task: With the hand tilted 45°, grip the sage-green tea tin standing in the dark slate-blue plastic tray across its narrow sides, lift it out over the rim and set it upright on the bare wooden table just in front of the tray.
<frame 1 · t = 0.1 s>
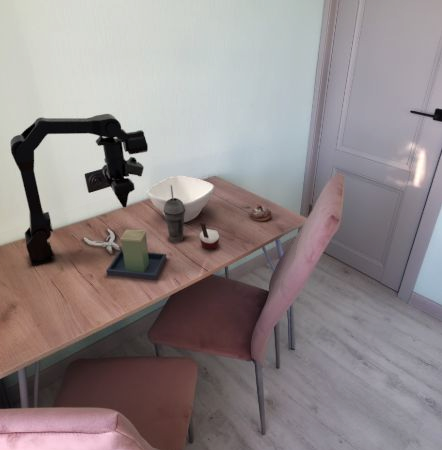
hand: (121, 201, 134), 15 cm above the table, tool pointing down, fingers open, 9 cm apart
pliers: (106, 243, 139), on the table
cocoa: (208, 248, 137), on the table
bowl: (182, 216, 156), on the table
tea tin: (137, 267, 127), resting on tray
tray: (137, 268, 127), on the table
beverage cup: (176, 239, 141), on the table
pastry: (261, 217, 155), on the table
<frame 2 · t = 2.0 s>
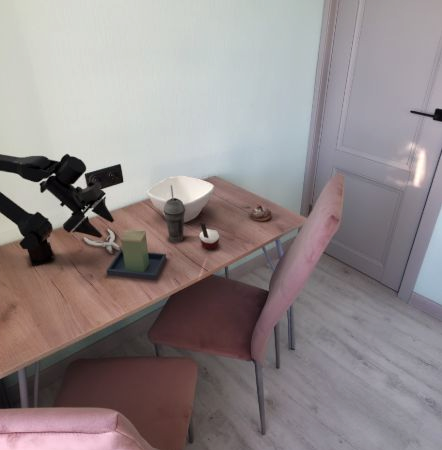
hand: (107, 229, 121), 13 cm above the table, tool tilted 45°, fingers open, 9 cm apart
nothing on the table moved.
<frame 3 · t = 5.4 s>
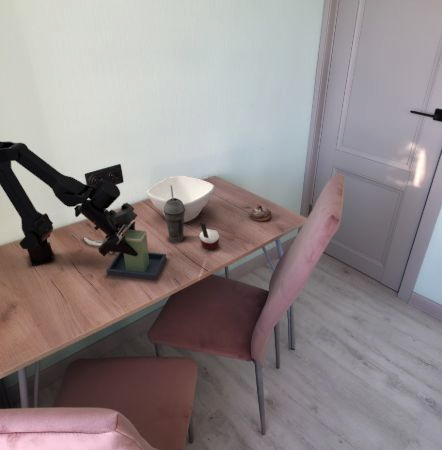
hand: (140, 250, 123), 7 cm above the table, tool tilted 45°, fingers closed on tea tin, 5 cm apart
tea tin: (138, 266, 127), resting on tray, touching gripper
everything else where it was.
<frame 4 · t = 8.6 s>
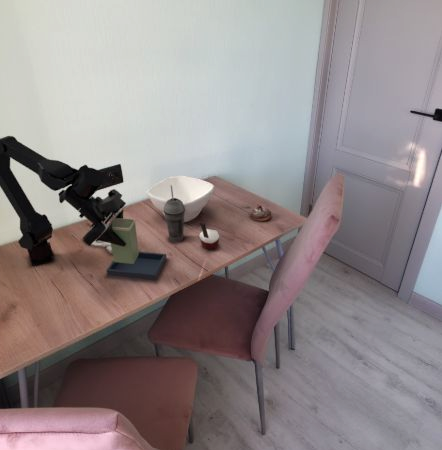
hand: (128, 240, 115), 13 cm above the table, tool tilted 45°, fingers closed on tea tin, 5 cm apart
tea tin: (126, 258, 119), point 7 cm above the table, touching gripper
everything else where it was.
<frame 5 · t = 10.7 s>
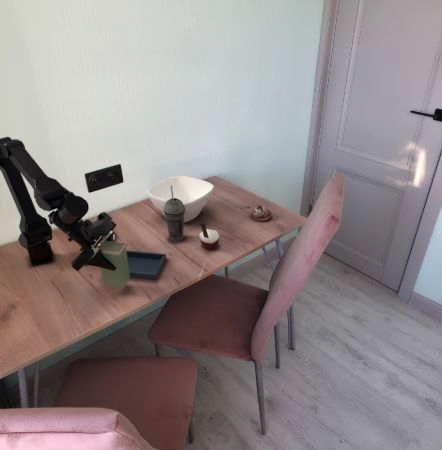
hand: (118, 264, 112), 10 cm above the table, tool tilted 45°, fingers closed on tea tin, 5 cm apart
tea tin: (117, 281, 116), point 3 cm above the table, touching gripper
everything else where it was.
when the fingers open (6 cm above the table, at t = 12.1 s): tea tin stays where it is, on the table.
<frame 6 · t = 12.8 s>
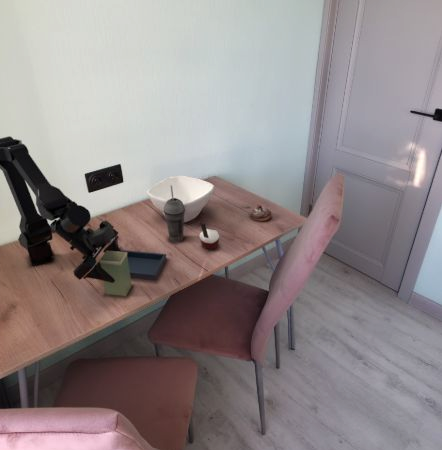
hand: (120, 271, 113), 7 cm above the table, tool tilted 45°, fingers open, 9 cm apart
tea tin: (119, 290, 117), on the table
everything else where it was.
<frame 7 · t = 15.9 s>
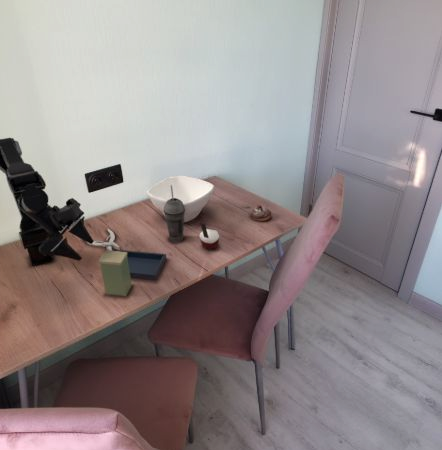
hand: (87, 250, 113), 12 cm above the table, tool tilted 45°, fingers open, 9 cm apart
nothing on the table moved.
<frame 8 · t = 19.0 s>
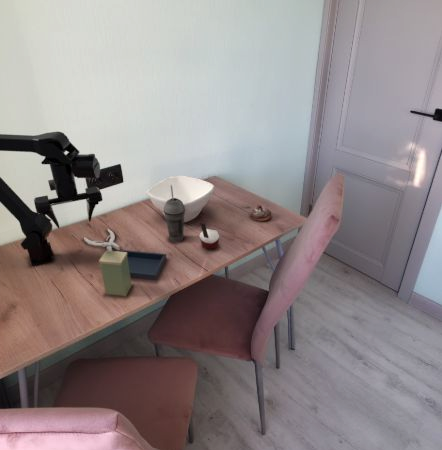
hand: (74, 224, 124), 13 cm above the table, tool pointing down, fingers open, 9 cm apart
nothing on the table moved.
at the end: tea tin inside the target area (0.1 cm from its centre), on the table; tea tin touching table; tea tin tilted 0° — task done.
